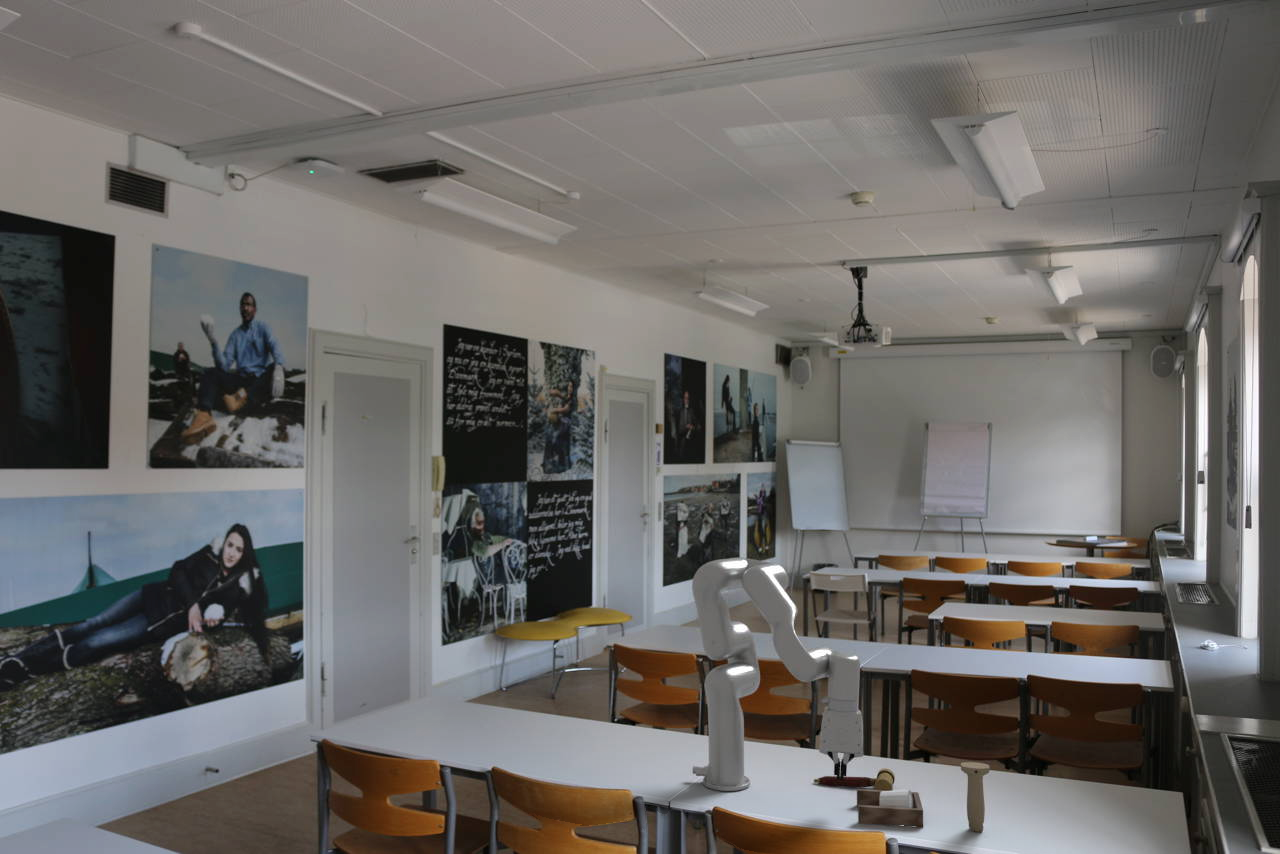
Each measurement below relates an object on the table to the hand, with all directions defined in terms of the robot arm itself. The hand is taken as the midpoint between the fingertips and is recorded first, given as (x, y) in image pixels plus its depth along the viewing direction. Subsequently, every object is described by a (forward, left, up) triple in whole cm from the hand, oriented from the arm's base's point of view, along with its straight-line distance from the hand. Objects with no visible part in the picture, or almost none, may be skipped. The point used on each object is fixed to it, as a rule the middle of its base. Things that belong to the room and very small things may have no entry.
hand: (839, 778), depth 247 cm
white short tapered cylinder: (+10, 0, -6) cm, 11 cm away
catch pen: (+11, -1, -8) cm, 14 cm away
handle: (+31, -7, -8) cm, 33 cm away
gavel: (+4, +20, -9) cm, 22 cm away
